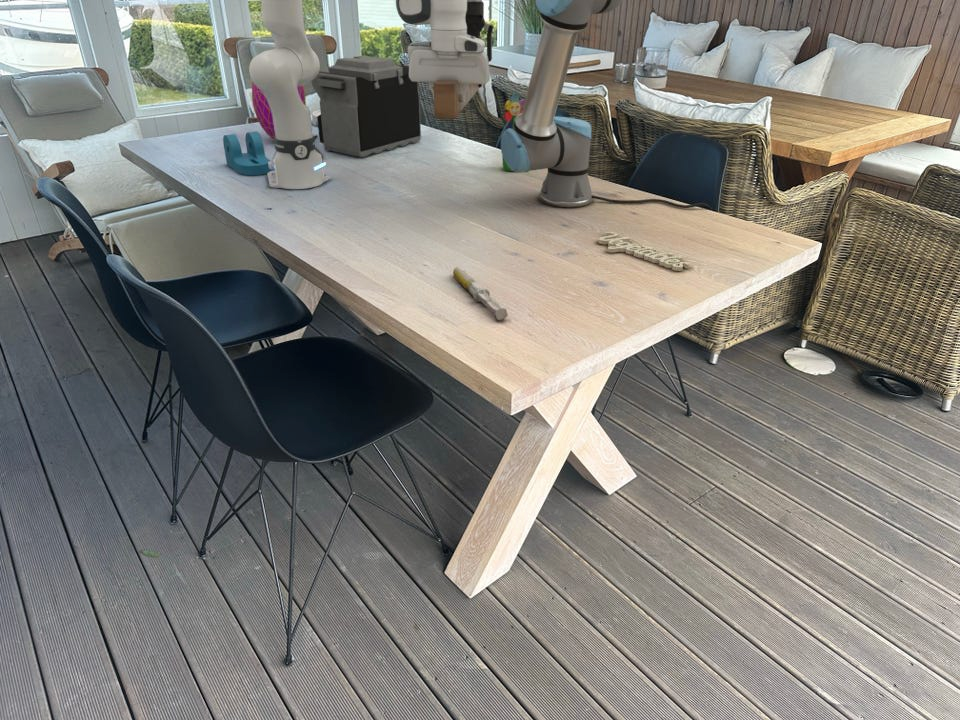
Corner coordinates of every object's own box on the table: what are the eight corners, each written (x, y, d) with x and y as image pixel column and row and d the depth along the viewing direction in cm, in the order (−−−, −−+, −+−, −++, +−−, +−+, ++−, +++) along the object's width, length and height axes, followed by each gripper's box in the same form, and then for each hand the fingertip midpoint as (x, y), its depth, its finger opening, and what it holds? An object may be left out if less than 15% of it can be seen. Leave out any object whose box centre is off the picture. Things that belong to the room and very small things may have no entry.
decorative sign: (584, 239, 172) (609, 230, 178) (583, 243, 172) (609, 234, 178) (672, 271, 155) (697, 260, 161) (671, 275, 156) (696, 264, 161)
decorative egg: (293, 132, 276) (283, 50, 261) (319, 140, 264) (310, 56, 249) (249, 139, 265) (236, 54, 250) (273, 148, 253) (261, 60, 238)
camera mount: (227, 164, 233) (221, 132, 227) (257, 160, 238) (252, 129, 233) (244, 176, 220) (239, 143, 215) (276, 172, 225) (271, 139, 220)
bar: (465, 84, 216) (465, 56, 212) (481, 84, 215) (482, 56, 211) (434, 118, 170) (433, 83, 166) (454, 119, 170) (454, 83, 166)
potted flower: (506, 173, 227) (508, 93, 214) (495, 167, 233) (496, 89, 220) (530, 170, 231) (534, 91, 218) (519, 164, 237) (522, 87, 224)
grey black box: (383, 133, 276) (378, 52, 261) (425, 141, 265) (422, 56, 250) (314, 150, 251) (304, 61, 235) (358, 160, 240) (350, 67, 224)
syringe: (449, 274, 155) (449, 263, 153) (465, 272, 156) (464, 260, 154) (490, 323, 135) (491, 310, 133) (508, 319, 136) (508, 307, 134)
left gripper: (404, 42, 166) (406, 102, 173) (488, 44, 164) (487, 105, 171) (410, 39, 172) (412, 97, 179) (491, 41, 170) (490, 100, 177)
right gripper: (437, 0, 195) (438, 87, 207) (501, 1, 193) (499, 89, 205) (441, -1, 202) (443, 83, 213) (503, 0, 200) (501, 85, 212)
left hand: (449, 101), depth 175 cm, fingers closed on bar, 5 cm apart
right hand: (470, 86), depth 209 cm, fingers closed on bar, 5 cm apart
